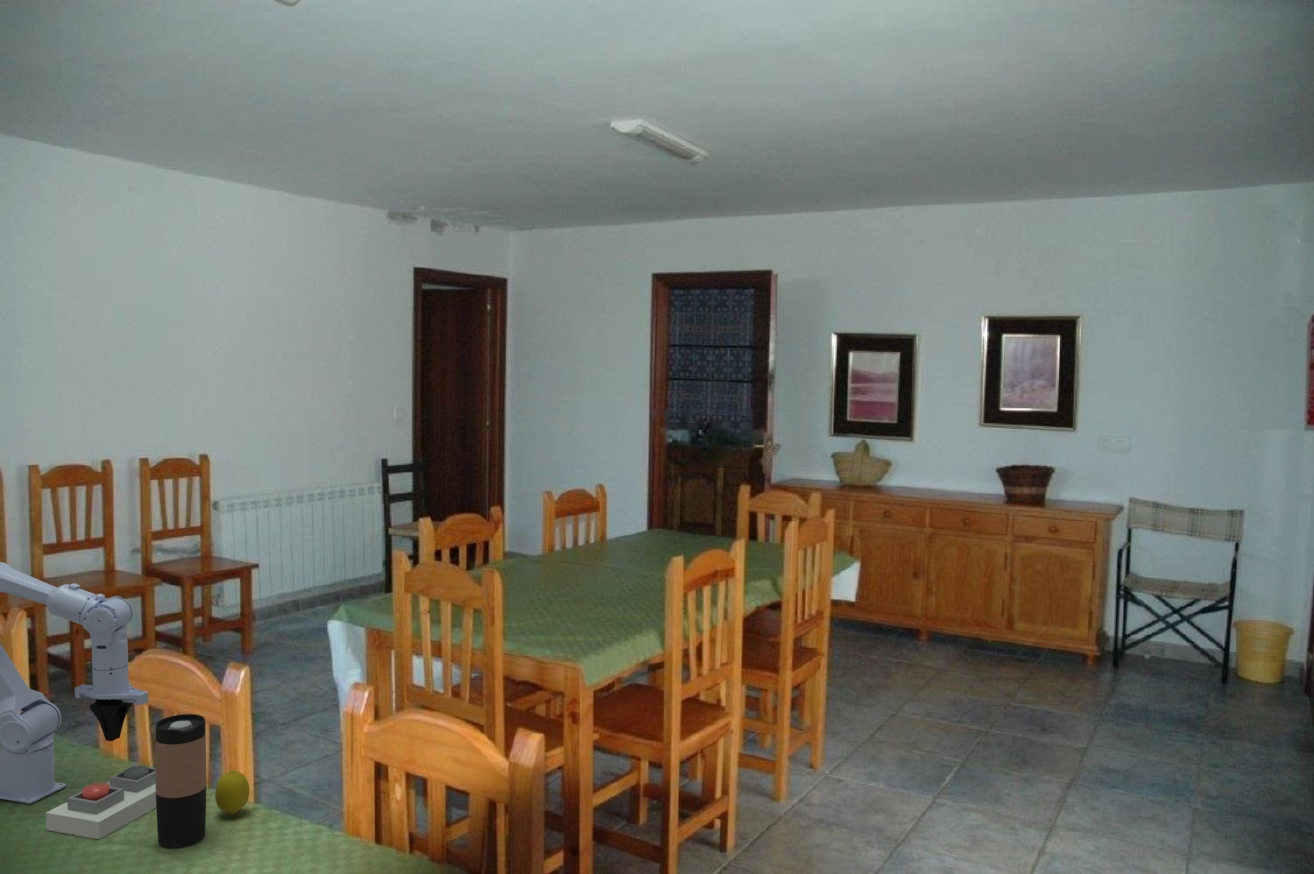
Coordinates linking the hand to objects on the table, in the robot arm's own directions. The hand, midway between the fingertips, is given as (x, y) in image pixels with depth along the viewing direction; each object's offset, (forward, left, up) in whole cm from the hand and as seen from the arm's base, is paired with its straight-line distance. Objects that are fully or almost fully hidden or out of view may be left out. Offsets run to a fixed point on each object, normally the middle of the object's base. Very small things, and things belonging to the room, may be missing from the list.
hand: (112, 738), depth 181 cm
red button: (+6, -10, -6) cm, 13 cm away
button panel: (+6, -5, -10) cm, 13 cm away
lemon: (+26, 0, -11) cm, 28 cm away
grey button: (+6, -1, -7) cm, 9 cm away
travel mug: (+24, -10, -11) cm, 28 cm away
